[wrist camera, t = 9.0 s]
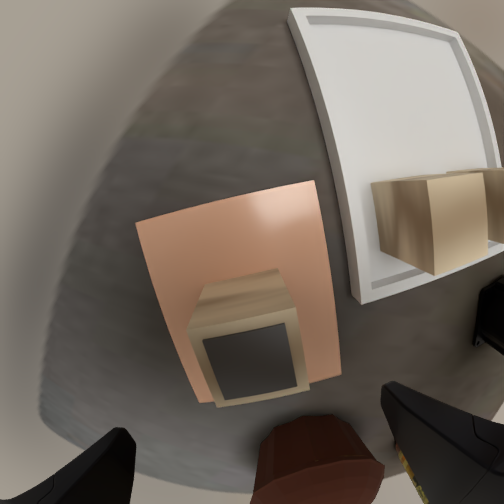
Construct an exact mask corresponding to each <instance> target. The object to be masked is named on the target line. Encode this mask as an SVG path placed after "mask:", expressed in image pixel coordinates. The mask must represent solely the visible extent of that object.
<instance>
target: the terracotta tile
mask: <svg viewBox="0 0 504 504" xmlns="http://www.w3.org/2000/svg"><path fill="white" fill-rule="evenodd" d="M136 227H137V231H138V235H139V239H140V242H141V246H142V250H143V253H144V257H145V260H146V263H147V267H148V270H149V273H150V277H151V280H152V283H153V286H154V289H155V292H156V295H157V298H158V301H159V304H160V307H161V310H162V313H163V316H164V318H165V321H166V324H167V327H168V329H169V332H170V335H171V337H172V340H173V342H174V345H175V348H176V350H177V353H178V355H179V358H180V360H181V362H182V365H183V367H184V369H185V372H186V374H187V376H188V379H189V381H190V383H191V386H192V388H193V390H194V392H195V394H196V397H197V399H198V401H199V403H204V402H212V401H214V399H213V397H212V395H211V392H210V390H209V388H208V385H207V383H206V380H205V378H204V376H203V373H202V371H201V368H200V366H199V363H198V361H197V358H196V355H195V353H194V350H193V348H192V345H191V342H190V340H189V337H188V334H187V331H186V329H187V327H188V324H189V322H190V319H191V317H192V314H193V312H194V309H195V307H196V305H197V302H198V300H199V297H200V295H201V293H202V290H203V288H204V285H205V284H209V283H213V282H218V281H222V280H227V279H231V278H236V277H240V276H245V275H249V274H253V273H258V272H262V271H267V270H271V269H275V268H278V270H279V272H280V274H281V276H282V279H283V281H284V283H285V285H286V287H287V289H288V292H289V294H290V296H291V298H292V300H293V302H294V305H295V307H296V312H297V317H298V322H299V328H300V334H301V339H302V345H303V351H304V356H305V362H306V368H307V374H308V381H309V383H312V382H316V381H320V380H324V379H327V378H331V377H334V376H337V375H341V361H340V349H339V338H338V328H337V318H336V309H335V301H334V293H333V286H332V278H331V271H330V265H329V258H328V252H327V246H326V240H325V234H324V228H323V223H322V217H321V212H320V207H319V202H318V197H317V192H316V187H315V182H314V180H312V181H307V182H302V183H296V184H291V185H286V186H281V187H277V188H272V189H267V190H262V191H258V192H253V193H249V194H244V195H240V196H236V197H231V198H227V199H223V200H219V201H215V202H210V203H206V204H202V205H199V206H195V207H191V208H187V209H183V210H179V211H176V212H172V213H168V214H165V215H161V216H157V217H154V218H150V219H147V220H143V221H140V222H137V223H136Z"/></svg>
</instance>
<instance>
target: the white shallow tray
mask: <svg viewBox="0 0 504 504" xmlns="http://www.w3.org/2000/svg"><path fill="white" fill-rule="evenodd" d="M287 23H288V26H289V29H290V31H291V34H292V36H293V39H294V42H295V44H296V47H297V50H298V53H299V56H300V58H301V61H302V64H303V67H304V70H305V73H306V76H307V79H308V83H309V86H310V89H311V92H312V96H313V99H314V102H315V106H316V109H317V113H318V116H319V120H320V124H321V128H322V131H323V135H324V139H325V143H326V147H327V152H328V156H329V160H330V165H331V169H332V174H333V178H334V183H335V188H336V193H337V198H338V204H339V209H340V215H341V221H342V227H343V233H344V239H345V246H346V253H347V260H348V268H349V276H350V285H351V295H352V296H353V297H354V298H355V299H356V300H357V301H358V302H359V303H360V304H361V305H362V304H365V303H369V302H372V301H375V300H378V299H381V298H384V297H387V296H390V295H394V294H397V293H399V292H402V291H405V290H408V289H411V288H414V287H417V286H420V285H422V284H425V283H428V282H430V281H433V280H436V279H438V278H441V277H444V276H446V275H449V274H451V273H454V272H456V271H459V270H461V269H464V268H466V267H468V266H471V265H473V264H475V263H478V262H480V261H482V260H485V259H487V258H489V257H491V256H494V255H496V254H498V253H500V252H502V251H504V244H502V243H498V242H495V241H491V240H488V255H486V256H484V257H482V258H479V259H477V260H475V261H472V262H470V263H467V264H465V265H462V266H460V267H457V268H455V269H452V270H450V271H447V272H445V273H442V274H439V275H437V276H433V275H431V274H429V273H427V272H424V271H422V270H420V269H418V268H416V267H414V266H412V265H410V264H408V263H405V262H403V261H401V260H399V259H397V258H395V257H392V256H390V255H388V254H386V253H383V252H381V251H380V243H379V235H378V227H377V220H376V213H375V206H374V200H373V194H372V189H371V183H372V182H378V181H384V180H391V179H397V178H404V177H411V176H418V175H428V174H446V172H449V171H457V170H466V169H476V168H501V162H500V156H499V150H498V145H497V141H496V136H495V132H494V128H493V124H492V120H491V116H490V112H489V109H488V106H487V102H486V99H485V96H484V93H483V90H482V87H481V84H480V82H479V79H478V76H477V74H476V71H475V69H474V66H473V64H472V61H471V59H470V57H469V55H468V52H467V50H466V48H465V46H464V44H463V42H462V40H461V38H460V36H459V34H458V32H455V31H452V30H449V29H446V28H443V27H440V26H437V25H433V24H430V23H426V22H422V21H418V20H414V19H410V18H405V17H400V16H395V15H389V14H384V13H377V12H370V11H361V10H351V9H338V8H290V12H289V15H288V19H287Z"/></svg>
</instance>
